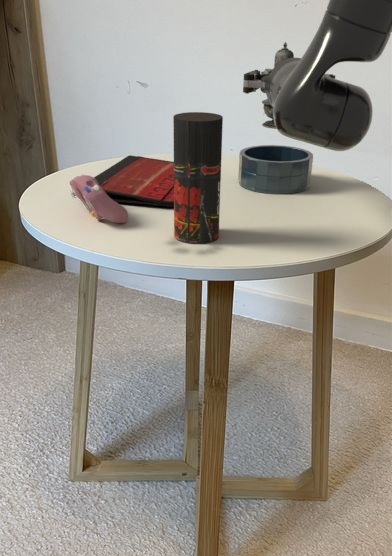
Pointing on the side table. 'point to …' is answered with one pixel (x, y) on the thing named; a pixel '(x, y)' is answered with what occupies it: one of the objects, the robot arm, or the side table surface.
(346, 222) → the side table surface
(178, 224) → the deodorant
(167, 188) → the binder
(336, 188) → the side table surface
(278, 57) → the salt shaker
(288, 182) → the pot
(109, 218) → the video game controller
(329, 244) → the side table surface
